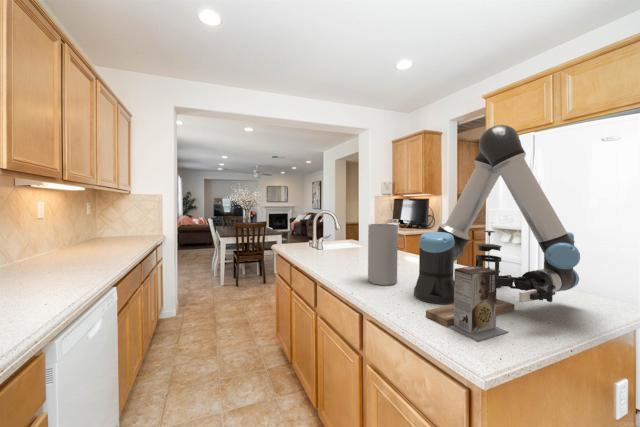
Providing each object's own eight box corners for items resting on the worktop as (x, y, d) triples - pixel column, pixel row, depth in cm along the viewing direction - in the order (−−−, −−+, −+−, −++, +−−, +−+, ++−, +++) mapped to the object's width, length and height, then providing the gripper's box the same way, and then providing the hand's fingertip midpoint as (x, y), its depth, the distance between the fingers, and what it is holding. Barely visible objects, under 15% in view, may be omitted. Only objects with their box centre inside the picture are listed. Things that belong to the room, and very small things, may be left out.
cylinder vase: (387, 277, 134) (387, 223, 133) (402, 284, 122) (403, 225, 121) (362, 279, 130) (363, 224, 129) (377, 287, 118) (377, 226, 117)
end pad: (448, 327, 80) (448, 326, 80) (477, 320, 85) (477, 319, 85) (478, 341, 72) (478, 340, 72) (508, 332, 77) (508, 331, 77)
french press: (508, 288, 117) (509, 231, 117) (488, 289, 115) (489, 232, 115) (486, 280, 129) (487, 229, 128) (467, 281, 127) (468, 229, 126)
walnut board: (425, 316, 87) (425, 309, 87) (490, 302, 100) (490, 296, 100) (447, 327, 80) (447, 319, 80) (514, 310, 93) (514, 304, 93)
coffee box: (476, 319, 84) (477, 265, 84) (496, 328, 78) (498, 270, 78) (452, 324, 81) (453, 267, 80) (471, 334, 75) (473, 273, 74)
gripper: (589, 306, 80) (544, 319, 71) (501, 283, 103) (458, 291, 94) (590, 280, 80) (545, 289, 71) (501, 262, 102) (459, 268, 94)
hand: (495, 290), depth 82 cm, fingers open, 13 cm apart
